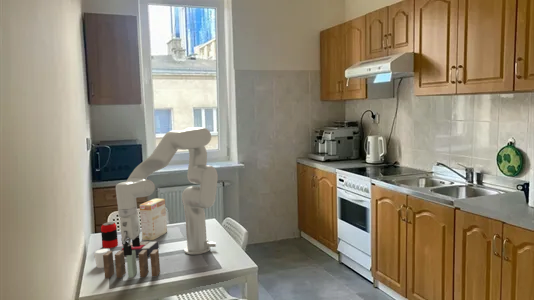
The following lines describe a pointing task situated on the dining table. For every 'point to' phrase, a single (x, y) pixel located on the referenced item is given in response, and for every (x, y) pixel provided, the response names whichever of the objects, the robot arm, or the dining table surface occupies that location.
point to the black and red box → (145, 247)
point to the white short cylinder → (100, 257)
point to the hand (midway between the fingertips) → (132, 250)
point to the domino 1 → (108, 264)
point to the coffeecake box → (153, 219)
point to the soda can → (109, 235)
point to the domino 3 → (131, 264)
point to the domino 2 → (120, 264)
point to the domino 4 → (143, 263)
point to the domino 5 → (155, 262)
